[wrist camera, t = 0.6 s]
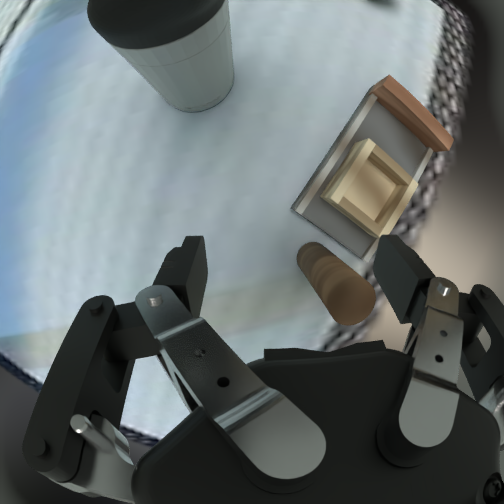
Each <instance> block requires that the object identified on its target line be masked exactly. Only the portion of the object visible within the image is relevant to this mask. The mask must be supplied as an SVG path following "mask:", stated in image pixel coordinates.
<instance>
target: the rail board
mask: <svg viewBox="0 0 504 504" xmlns="http://www.w3.org/2000/svg"><path fill="white" fill-rule="evenodd" d="M368 138H369V139H370V140H372V141H373V142H374V143H375V144H376V145H378V146H379V147H380V148H381V149H382V150H383V151H384V152H385V153H387V154H388V155H389V156H390V157H391V158H392V159H393V160H394V161H395V162H396V163H397V164H399V165H400V166H401V167H402V168H403V169H404V170H405V171H406V172H407V173H408V174H409V175H410V176H411V177H412V178H413V179H414V180H415V181H416V182H418V180H419V178H420V176H421V174H422V172H423V170H424V169H425V167H426V165H427V163H428V161H429V159H430V157H431V155H432V153H433V152H439V151H449V149H450V147H451V145H452V143H453V140H454V139H453V138H452V137H451V135H450V134H449V133H448V132H447V131H446V130H445V129H444V127H443V126H442V125H441V124H440V123H439V122H438V121H437V120H436V119H435V117H434V116H433V115H432V114H431V113H430V112H429V111H428V110H427V109H426V108H425V107H424V106H423V105H422V104H421V103H420V102H419V101H418V100H417V99H416V98H415V97H414V96H413V95H412V94H411V93H410V92H408V91H407V90H406V89H405V88H404V87H403V86H402V85H401V84H400V83H398V82H397V81H396V80H395V79H394V78H393V77H392V76H390V75H388V76H387V77H385V78H384V79H382V80H381V81H379V82H378V83H376V84H375V85H373V86H372V87H371V88H370V89H369V91H368V92H367V94H366V95H365V97H364V98H363V100H362V101H361V103H360V104H359V106H358V107H357V109H356V110H355V112H354V113H353V115H352V116H351V118H350V119H349V121H348V123H347V124H346V126H345V127H344V129H343V130H342V132H341V133H340V135H339V136H338V138H337V139H336V141H335V142H334V144H333V145H332V147H331V148H330V150H329V151H328V153H327V154H326V156H325V157H324V159H323V160H322V162H321V163H320V165H319V166H318V168H317V169H316V171H315V172H314V174H313V175H312V177H311V178H310V180H309V181H308V183H307V184H306V186H305V187H304V189H303V190H302V192H301V193H300V195H299V196H298V198H297V199H296V201H295V202H294V204H293V205H292V207H291V209H293V210H294V211H296V212H297V213H298V214H300V215H301V216H303V217H304V218H306V219H307V220H308V221H310V222H311V223H313V224H314V225H316V226H317V227H318V228H320V229H321V230H323V231H324V232H325V233H327V234H328V235H330V236H331V237H332V238H334V239H335V240H336V241H338V242H339V243H341V244H342V245H343V246H345V247H346V248H347V249H349V250H350V251H351V252H353V253H354V254H355V255H357V256H358V257H359V258H361V259H362V260H364V261H365V262H367V263H368V261H369V260H370V258H371V257H372V255H373V254H374V252H375V251H376V249H377V247H378V242H379V239H378V238H376V237H374V236H371V235H369V234H368V233H367V232H366V231H364V230H363V229H362V228H361V227H359V226H358V225H357V224H355V223H354V222H353V221H352V220H350V219H349V218H348V217H346V216H345V215H344V214H343V213H341V212H340V211H339V210H337V209H336V208H335V207H333V206H332V205H331V204H329V203H328V202H327V201H325V200H324V199H323V198H321V197H320V196H321V194H322V193H323V191H324V190H325V188H326V187H327V185H328V184H329V182H330V181H331V179H332V178H333V176H334V175H335V173H336V172H337V170H338V168H339V167H340V165H341V164H342V162H343V161H344V159H345V158H346V156H347V155H348V153H349V151H350V150H351V148H352V147H353V145H354V144H355V143H356V142H359V141H362V140H365V139H368Z"/></svg>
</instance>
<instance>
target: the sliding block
mask: <svg viewBox="0 0 504 504" xmlns="http://www.w3.org/2000/svg"><path fill="white" fill-rule="evenodd" d="M417 186H418V183H417V182H416V181H415V180H414V179H413V178H412V177H411V176H410V175H409V174H408V173H407V172H406V171H405V170H404V169H403V168H402V167H401V166H400V165H399V164H397V163H396V162H395V161H394V160H393V159H392V158H391V157H390V156H389V155H388V154H387V153H385V152H384V151H383V150H382V149H381V148H380V147H379V146H378V145H376V144H375V143H374V142H373V141H372V140H370V139H369V138H368V139H365V140H362V141H359V142H356V143H355V144H354V145H353V147H352V148H351V150H350V151H349V153H348V155H347V156H346V158H345V159H344V161H343V162H342V164H341V165H340V167H339V168H338V170H337V172H336V173H335V175H334V176H333V178H332V179H331V181H330V182H329V184H328V185H327V187H326V188H325V190H324V191H323V193H322V194H321V196H320V197H321V198H323V199H324V200H325V201H327V202H328V203H329V204H331V205H332V206H333V207H335V208H336V209H337V210H339V211H340V212H341V213H343V214H344V215H345V216H346V217H348V218H349V219H350V220H352V221H353V222H354V223H355V224H357V225H358V226H359V227H361V228H362V229H363V230H364V231H366V232H367V233H368V234H369V235H371V236H374V237H376V238H378V239H379V238H380V236H381V235H389V233H390V232H391V230H392V229H393V227H394V225H395V224H396V222H397V221H398V219H399V217H400V216H401V214H402V212H403V211H404V209H405V207H406V205H407V204H408V202H409V200H410V199H411V197H412V195H413V193H414V192H415V190H416V188H417Z"/></svg>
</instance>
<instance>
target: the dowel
mask: <svg viewBox="0 0 504 504" xmlns="http://www.w3.org/2000/svg"><path fill="white" fill-rule="evenodd" d="M297 263H298V266H299V267H300V269H301V270H302V272H303V273H304V275H305V276H306V278H307V279H308V281H309V282H310V284H311V285H312V287H313V288H314V290H315V291H316V293H317V294H318V296H319V297H320V299H321V300H322V302H323V303H324V305H325V306H326V308H327V310H328V311H329V313H330V314H331V316H332V317H333V319H334V320H335V321H336V322H338V323H339V324H342V325H354V324H357V323H360V322H361V321H363V320H364V319H365V318H367V317H368V316H369V314H370V313H371V311H372V310H373V308H374V305H375V301H376V295H375V291H374V288H373V287H372V285H371V284H370V283H369V282H367V281H366V280H365V279H364V278H363V277H361V276H360V275H359V274H358V273H357V272H355V271H354V270H353V269H352V268H350V267H349V266H348V265H347V264H345V263H344V262H343V261H342V260H340V259H339V258H338V257H337V256H335V255H334V254H333V253H332V252H330V251H329V250H328V249H327V248H325V247H324V246H323V245H321V244H320V243H317V242H309V243H307V244H305V245H303V246H302V247H301V248H300V250H299V251H298V254H297Z"/></svg>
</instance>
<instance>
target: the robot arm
mask: <svg viewBox="0 0 504 504" xmlns="http://www.w3.org/2000/svg"><path fill="white" fill-rule="evenodd" d="M87 14H88V18H89V21H90V23H91V25H92V27H93V28H94V29H95V30H96V31H97V32H98V33H99V34H100V35H101V36H102V37H103V38H104V39H105V40H106V41H107V42H108V43H109V44H110V45H111V46H112V47H113V48H114V49H115V50H116V51H117V52H118V53H119V54H120V55H121V56H122V57H124V58H125V59H126V60H127V61H128V62H129V63H130V64H131V65H132V66H133V67H134V68H135V69H136V71H137V72H138V73H139V74H140V75H141V76H142V77H143V78H144V79H145V80H146V81H147V82H148V83H149V84H150V85H151V86H152V87H153V88H154V89H155V90H156V91H157V92H158V93H159V94H160V95H161V96H162V97H163V98H164V99H165V100H166V101H167V102H168V103H169V104H170V105H171V106H173V107H174V108H176V109H179V110H181V111H187V112H198V111H202V110H206V109H209V108H211V107H213V106H215V105H216V104H218V103H220V102H221V101H222V100H223V99H224V98H225V97H226V96H227V94H228V93H229V91H230V90H231V87H232V85H233V80H234V70H233V54H232V42H231V29H230V16H229V6H228V0H89V2H88V7H87ZM373 271H374V275H375V278H376V279H377V281H378V283H379V285H380V286H381V288H382V290H383V292H384V293H385V295H386V297H387V299H388V301H389V303H390V304H391V306H392V308H393V310H394V312H395V313H396V316H397V318H398V320H399V321H400V323H401V324H405V323H412V326H411V328H410V330H409V333H408V336H407V339H406V342H405V346H404V348H403V352H400V351H397V350H392V349H386V347H385V344H384V342H383V340H379V341H371V342H362V343H355V344H353V345H350V346H347V347H344V348H341V349H338V350H335V351H331V352H322V351H314V350H307V349H300V348H282V349H264V358H262V359H258V360H255V361H252V362H250V363H248V364H245V363H244V362H243V361H242V360H241V359H240V358H239V357H238V356H237V355H236V353H235V352H234V351H233V350H232V349H231V348H230V347H229V346H228V345H227V344H226V343H225V342H224V341H223V339H222V338H221V337H220V336H219V335H218V334H217V333H216V332H215V331H214V329H213V328H212V327H211V326H210V325H209V324H208V323H207V321H206V320H205V319H204V318H202V317H199V316H200V311H201V306H202V301H203V297H204V292H205V287H206V283H207V277H208V267H207V259H206V250H205V242H204V237H203V236H186V237H185V239H184V242H183V244H182V246H181V247H175V248H173V249H172V250H171V251H170V252H169V253H167V255H166V257H165V259H164V262H163V263H162V265H161V268H160V270H159V272H158V274H157V276H156V278H155V280H154V282H153V285H152V286H149V287H147V288H145V289H143V290H142V291H140V292H139V293H138V294H137V296H136V298H135V301H134V302H131V303H126V304H121V305H115V304H114V301H113V299H112V298H111V297H109V296H105V295H100V296H95V297H93V298H90V299H89V300H87V301H86V302H85V303H84V304H83V305H82V306H81V308H80V310H79V312H78V314H77V315H76V317H75V319H74V321H73V323H72V325H71V327H70V329H69V331H68V333H67V334H66V336H65V338H64V340H63V342H62V345H61V347H60V349H59V351H58V353H57V355H56V357H55V359H54V361H53V364H52V366H51V368H50V370H49V373H48V375H47V377H46V380H45V382H44V384H43V387H42V389H41V392H40V394H39V397H38V399H37V402H36V405H35V407H34V410H33V413H32V416H31V419H30V422H29V425H28V428H27V431H26V434H25V437H24V441H23V446H22V450H23V455H24V458H25V460H26V462H27V463H28V465H29V466H30V467H31V468H33V469H34V470H36V471H38V472H39V473H41V474H43V475H45V476H47V477H48V478H49V479H50V480H52V481H54V482H56V483H58V484H60V485H62V486H64V487H66V488H68V489H70V490H73V491H75V492H80V493H82V494H84V495H87V496H90V497H99V496H105V497H109V498H113V499H117V500H121V501H125V502H129V503H133V504H504V483H503V481H502V478H501V474H500V460H499V459H500V451H502V450H504V305H503V304H502V303H501V301H500V300H499V299H498V297H497V296H496V295H495V293H494V292H493V291H492V290H491V289H490V288H488V287H486V286H484V285H481V284H476V285H474V286H473V288H472V290H471V292H470V294H467V293H461V292H459V290H458V288H457V286H456V285H455V284H454V283H453V282H451V281H450V280H448V279H446V278H442V277H435V275H434V274H433V273H432V271H431V270H430V269H429V268H428V266H427V265H426V264H425V263H424V262H423V260H422V259H421V258H419V255H418V254H417V253H416V252H415V251H414V250H413V249H411V248H410V247H408V246H407V245H405V243H404V242H403V241H402V240H401V239H400V238H399V237H398V236H397V235H381V236H380V238H379V242H378V247H377V252H376V256H375V260H374V265H373ZM483 326H484V327H485V328H486V330H487V332H488V334H489V335H490V338H491V346H490V348H489V350H488V351H487V352H486V351H485V350H484V348H483V346H482V344H481V342H480V340H479V339H478V337H477V336H478V334H479V332H480V331H481V329H482V327H483ZM154 355H156V357H157V359H158V361H159V362H160V364H161V366H162V367H163V369H164V371H165V372H166V374H167V376H168V377H169V379H170V380H171V382H172V384H173V385H174V387H175V388H176V390H177V392H178V394H179V395H180V397H181V399H182V401H183V402H184V404H185V406H186V407H187V409H188V410H189V412H190V414H189V415H188V416H187V417H186V418H185V419H184V420H183V421H182V422H181V423H180V424H178V425H177V426H176V427H175V428H174V429H173V430H172V431H171V432H170V433H168V434H167V435H166V436H165V437H164V438H163V439H162V440H160V441H159V442H158V443H157V444H156V445H155V446H153V447H152V448H151V449H150V450H149V451H148V452H146V453H145V454H144V455H143V456H142V457H141V458H140V460H139V461H138V462H137V464H136V466H135V465H133V463H132V462H131V460H130V455H129V444H128V441H127V440H126V438H125V437H124V436H123V435H122V434H121V433H120V432H119V427H120V422H121V417H122V412H123V408H124V404H125V399H126V395H127V391H128V387H129V383H130V379H131V375H132V371H133V367H134V363H135V360H136V359H138V358H144V357H149V356H154ZM460 364H461V367H462V369H463V371H464V373H465V376H466V378H467V380H468V383H469V385H470V387H471V390H472V392H473V395H474V397H475V400H476V401H475V400H473V399H472V398H471V397H469V396H468V395H466V394H465V393H463V392H462V391H460V390H459V389H458V388H457V379H458V372H459V365H460Z"/></svg>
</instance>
